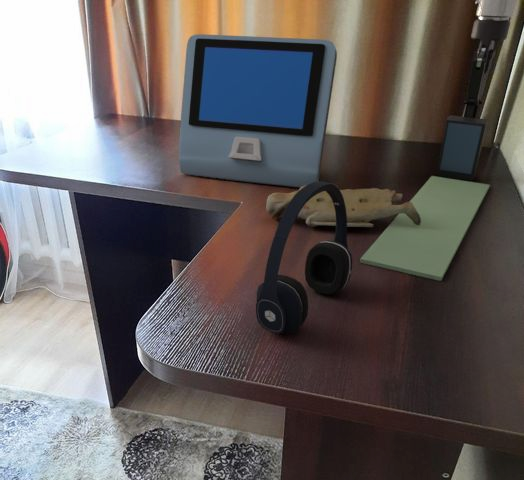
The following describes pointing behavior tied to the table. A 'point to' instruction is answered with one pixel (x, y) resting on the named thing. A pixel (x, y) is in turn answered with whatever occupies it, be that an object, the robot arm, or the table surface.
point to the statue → (357, 207)
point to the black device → (461, 147)
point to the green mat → (429, 229)
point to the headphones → (316, 267)
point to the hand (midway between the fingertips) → (466, 133)
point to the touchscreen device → (256, 108)
